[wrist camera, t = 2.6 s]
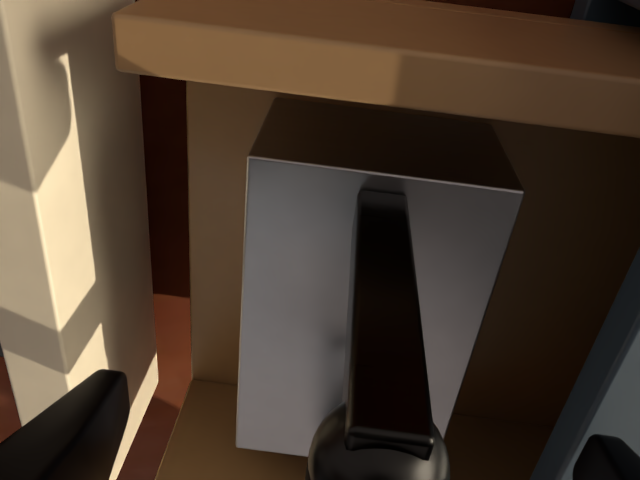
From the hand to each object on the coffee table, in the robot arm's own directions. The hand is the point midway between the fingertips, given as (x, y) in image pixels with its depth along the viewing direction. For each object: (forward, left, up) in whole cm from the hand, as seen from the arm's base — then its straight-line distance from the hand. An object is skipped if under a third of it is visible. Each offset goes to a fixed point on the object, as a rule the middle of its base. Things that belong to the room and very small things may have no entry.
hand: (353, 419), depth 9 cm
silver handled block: (0, 0, -5) cm, 5 cm away
